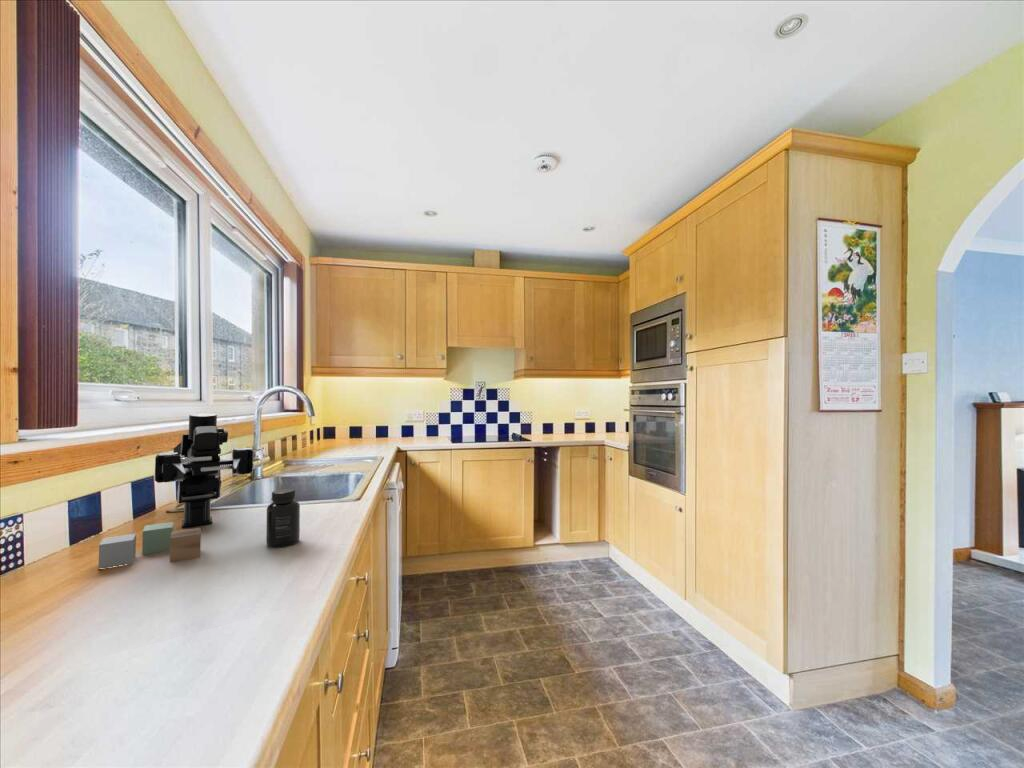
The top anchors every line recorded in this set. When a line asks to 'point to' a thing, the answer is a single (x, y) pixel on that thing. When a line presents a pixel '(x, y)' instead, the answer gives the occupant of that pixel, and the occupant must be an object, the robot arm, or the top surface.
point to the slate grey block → (117, 550)
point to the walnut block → (185, 544)
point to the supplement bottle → (283, 519)
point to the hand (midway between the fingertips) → (210, 473)
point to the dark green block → (156, 537)
